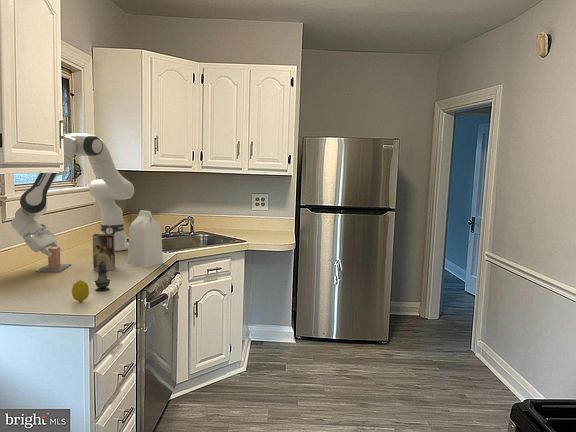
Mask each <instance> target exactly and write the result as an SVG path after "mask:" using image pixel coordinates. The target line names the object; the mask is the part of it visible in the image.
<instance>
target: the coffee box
mask: <svg viewBox="0 0 576 432" xmlns="http://www.w3.org/2000/svg"><path fill="white" fill-rule="evenodd" d="M92 258H93V260H92V261H93V263H92V264H93V265H92V266H93V271H95V272H96V271H98V264H99V263H100V262H101V260H103V261H104V262H105V263H106V270H107V271H115V269H116V251H115V238H114V234H99V233H94V234H93V235H92Z"/></svg>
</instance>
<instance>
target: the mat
mask: <svg viewBox="0 0 576 432" xmlns="http://www.w3.org/2000/svg"><path fill="white" fill-rule="evenodd" d="M71 266H72V263H60V267H58V268H48V264H47V265H44V266H43V267H41V268H39V269H36V272H35V273H61V272H63V271H65V270H67V269H68V268H69V267H71Z"/></svg>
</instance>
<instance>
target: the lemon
mask: <svg viewBox="0 0 576 432" xmlns="http://www.w3.org/2000/svg"><path fill="white" fill-rule="evenodd" d="M89 294H90V286H89V285H88V283H87V282H85V281H84V280H81V279H79V280H78V281H76V282H74V284H72V287H71V295H72V298H73V299H74V300H75V301H77V302H79V303H82V302H83V301H85V300H86V299H88V297H89Z"/></svg>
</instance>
